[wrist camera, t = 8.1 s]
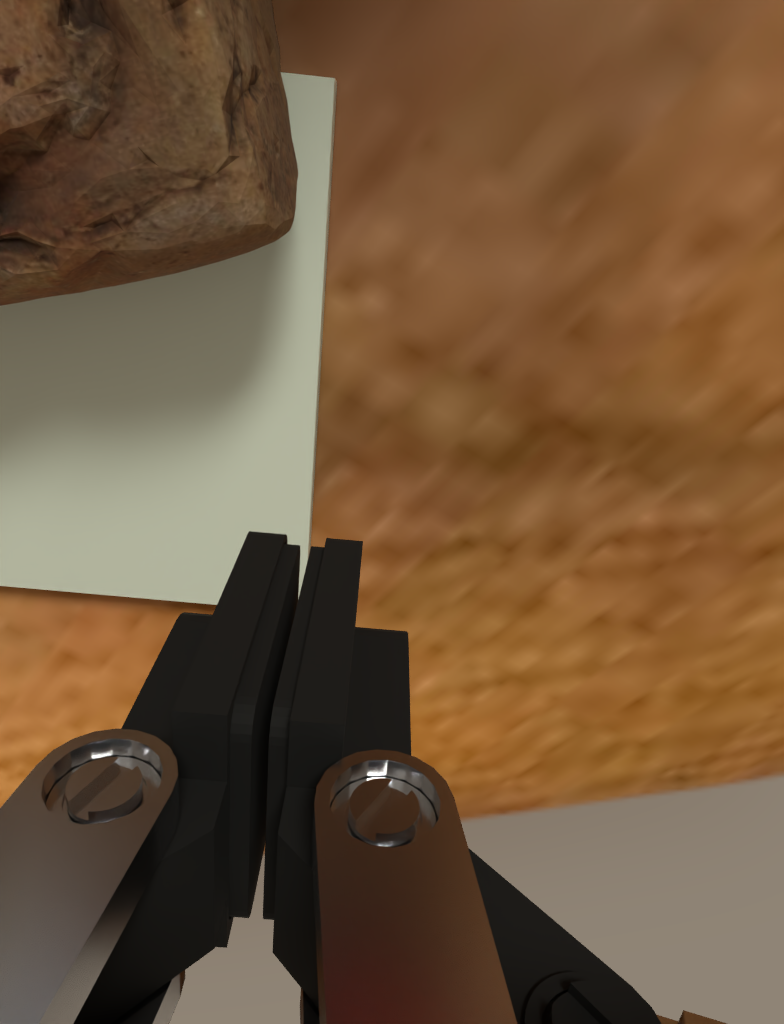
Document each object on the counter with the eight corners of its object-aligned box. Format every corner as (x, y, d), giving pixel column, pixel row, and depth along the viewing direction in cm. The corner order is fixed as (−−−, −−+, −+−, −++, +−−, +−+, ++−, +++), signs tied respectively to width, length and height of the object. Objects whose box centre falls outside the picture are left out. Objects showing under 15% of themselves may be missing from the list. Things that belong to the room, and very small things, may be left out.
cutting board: (337, 81, 20) (334, 77, 19) (307, 601, 27) (304, 612, 26) (-401, -1, 19) (-433, -9, 19) (-235, 553, 26) (-254, 563, 26)
